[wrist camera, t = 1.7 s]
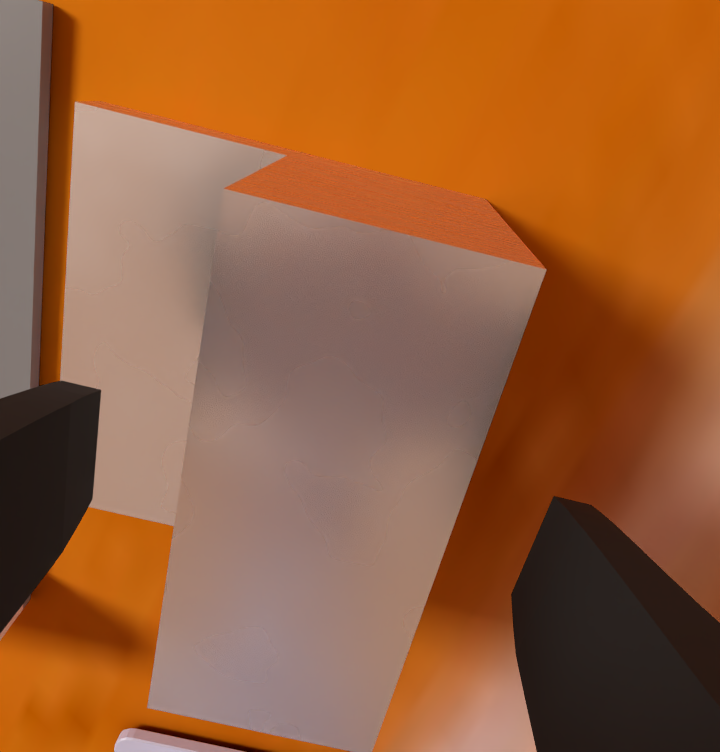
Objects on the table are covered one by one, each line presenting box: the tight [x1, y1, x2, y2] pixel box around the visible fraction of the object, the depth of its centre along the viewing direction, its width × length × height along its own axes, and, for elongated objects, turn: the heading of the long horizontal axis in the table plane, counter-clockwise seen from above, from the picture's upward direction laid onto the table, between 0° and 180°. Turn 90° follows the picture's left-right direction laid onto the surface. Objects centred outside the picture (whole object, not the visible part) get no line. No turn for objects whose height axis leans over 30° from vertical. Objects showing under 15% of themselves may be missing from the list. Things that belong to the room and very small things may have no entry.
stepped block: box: [60, 101, 547, 752], centre depth 12 cm, size 9×8×6 cm
